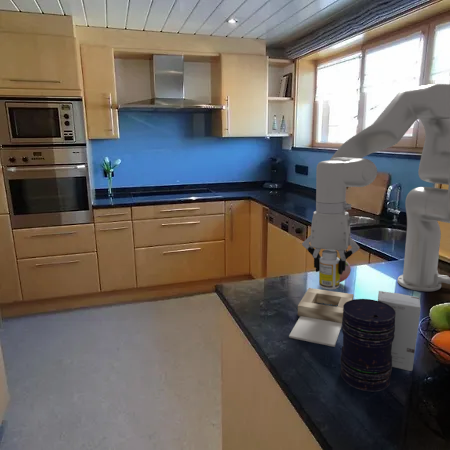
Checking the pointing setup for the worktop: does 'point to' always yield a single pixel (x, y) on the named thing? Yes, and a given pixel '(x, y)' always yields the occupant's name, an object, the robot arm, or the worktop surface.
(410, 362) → the skincare box
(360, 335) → the dark blue cylinder
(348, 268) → the decorative fruit
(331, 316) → the socket block
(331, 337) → the pad
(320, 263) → the supplement bottle
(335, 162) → the robot arm
